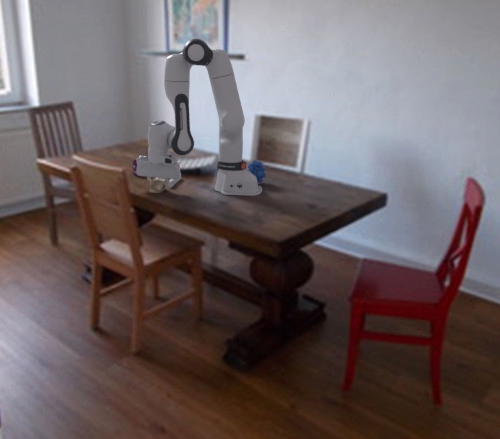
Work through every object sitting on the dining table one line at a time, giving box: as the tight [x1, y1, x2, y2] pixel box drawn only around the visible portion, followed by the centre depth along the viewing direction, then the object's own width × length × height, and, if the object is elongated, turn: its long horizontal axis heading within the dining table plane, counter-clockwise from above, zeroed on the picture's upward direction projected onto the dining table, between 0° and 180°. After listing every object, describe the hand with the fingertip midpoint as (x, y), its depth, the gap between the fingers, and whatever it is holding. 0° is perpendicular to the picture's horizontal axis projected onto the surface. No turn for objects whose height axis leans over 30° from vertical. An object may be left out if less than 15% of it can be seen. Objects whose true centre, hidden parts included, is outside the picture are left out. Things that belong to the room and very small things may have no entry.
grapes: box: [247, 160, 267, 183], centre depth 269 cm, size 12×7×12 cm, turn 127°
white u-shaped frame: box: [154, 172, 182, 189], centre depth 267 cm, size 9×16×3 cm, turn 169°
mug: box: [132, 159, 138, 176], centre depth 280 cm, size 7×10×7 cm
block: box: [149, 178, 166, 194], centre depth 255 cm, size 5×7×4 cm
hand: (158, 186), depth 256 cm, fingers closed on block, 5 cm apart
